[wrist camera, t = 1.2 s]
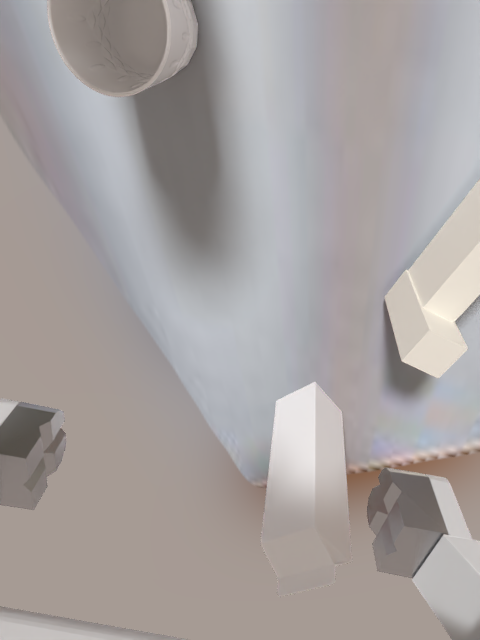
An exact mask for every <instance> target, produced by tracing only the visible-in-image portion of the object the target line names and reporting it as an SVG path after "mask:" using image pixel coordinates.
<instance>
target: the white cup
mask: <svg viewBox="0 0 480 640" xmlns="http://www.w3.org/2000/svg"><path fill="white" fill-rule="evenodd" d="M47 12H48V21H49V27H50V31H51V35H52V38H53V41H54V43H55V46H56V48H57V50H58V52H59V54H60V56H61V58H62V60H63V61H64V63H65V64H66V66H67V67H68V68H69V70H70V71H71V72H72V73H73V74H74V75H75V76H76V77H77V78H78V79H79V80H80V81H81V82H82V83H84V84H85V85H86V86H88V87H89V88H91V89H93V90H95V91H97V92H99V93H101V94H104V95H108V96H113V97H126V96H131V95H134V94H137V93H139V92H142V91H144V90H146V89H148V88H151V87H153V86H155V85H157V84H160V83H162V82H164V81H165V80H167V79H169V78H171V77H172V76H174V75H175V74H176V73H177V72H179V71H180V70H182V69H183V68H184V67H186V66H187V65H188V63H189V62H190V60H191V58H192V56H193V54H194V52H195V50H196V48H197V37H198V22H197V18H196V15H195V12H194V8H193V5H192V2H191V1H190V0H47Z"/></svg>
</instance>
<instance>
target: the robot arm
mask: <svg viewBox="0 0 480 640" xmlns="http://www.w3.org/2000/svg"><path fill="white" fill-rule="evenodd" d="M64 421H65V420H64V412H63V411H61V410H58V409H53V408H49V407H44V406H39V405H34V404H29V403H24V402H18V401H13V400H8V399H3V398H2V399H0V505H4V506H10V507H18V508H24V509H31V510H34V509H35V507H36V506H37V504H38V502H39V500H40V499H41V497H42V495H43V493H44V492H45V490H46V488H47V476H49V475H50V474H52V473H53V472H55V471H56V470H57V468H58V466H59V464H60V463H61V461H62V457H63V454H64V451H65V447H66V433H65V432H64V431H63V430H62V429H61V426H62V425H63V423H64ZM378 478H379V482H380V485H379V486H377V487H375V488H373V489H372V491H371V494H370V496H369V500H368V506H367V516H368V523H369V527H370V528H371V530H372V531H373V532H374V533H375V534H376V538H375V540H374V542H373V544H372V545H373V550H374V555H375V561H376V566H377V571H380V572H384V573H389V574H394V575H399V576H404V577H409V578H413V579H412V581H413V582H414V584H415V585H416V587H417V588H418V590H419V591H420V593H421V594H422V596H423V597H424V599H425V600H426V602H427V603H428V605H429V606H430V608H431V609H432V611H433V612H434V614H435V615H436V617H437V618H438V620H439V621H440V622H441V624H442V626H443V627H444V629H445V630H446V632H447V633H448V634H449V636H450V637H451V639H452V640H480V542H479V541H478V540H473V539H472V537H471V535H470V532H469V530H468V527H467V525H466V522H465V520H464V517H463V515H462V512H461V510H460V507H459V505H458V502H457V500H456V497H455V495H454V492H453V490H452V487H451V485H450V482H449V481H448V480H447V479H446V478H443V477H437V476H432V475H426V474H425V475H424V474H421V473H415V472H409V471H403V470H397V469H391V468H384V469H383V470H382V471H381V473H380V475H379V477H378ZM0 640H188V639H182V638H177V637H171V636H166V635H160V634H154V633H148V632H143V631H137V630H132V629H126V628H120V627H115V626H108V625H103V624H98V623H92V622H86V621H81V620H75V619H69V618H63V617H58V616H52V615H47V614H41V613H35V612H30V611H24V610H18V609H13V608H7V607H1V606H0Z"/></svg>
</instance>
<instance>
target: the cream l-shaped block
mask: <svg viewBox="0 0 480 640" xmlns="http://www.w3.org/2000/svg"><path fill="white" fill-rule="evenodd" d="M479 295H480V179H479V180H478V182H477V183H476V184H475V185H474V187H473V188H472V189H471V191H470V192H469V193H468V194H467V196H466V197H465V198H464V200H463V201H462V202H461V203H460V205H459V206H458V207H457V209H456V210H455V211H454V212H453V214H452V215H451V216H450V217H449V219H448V220H447V221H446V223H445V224H444V225H443V226H442V228H441V229H440V230H439V232H438V233H437V234H436V235H435V237H434V238H433V239H432V241H431V242H430V243H429V244H428V246H427V247H426V248H425V249H424V251H423V252H422V253H421V255H420V256H419V257H418V258H417V260H416V261H415V262H414V264H413V265H412V266H411V267H410V269H409V270H405V271H404V272H403V274H402V275H401V276H400V278H399V279H398V280H397V281H396V283H395V284H394V285H393V287H392V288H391V289H390V290H389V292H388V293H387V294H386V296H385V301H386V305H387V309H388V312H389V316H390V320H391V324H392V327H393V331H394V335H395V339H396V342H397V346H398V350H399V354H400V358H401V361H402V362H404V363H406V364H409V365H411V366H413V367H415V368H417V369H419V370H421V371H423V372H425V373H427V374H430V375H432V376H434V377H436V378H439V377H440V376H441V375H442V374H443V373H444V372H445V371H446V370H447V369H448V368H449V367H450V366H451V365H452V364H453V363H454V362H455V361H456V360H457V359H458V358H459V357H460V356H462V355H463V354H464V353H465V352H466V351H467V350H468V348H467V345H466V343H465V341H464V339H463V337H462V335H461V333H460V331H459V329H458V327H457V325H456V323H455V321H456V320H457V319H458V317H459V316H460V315H461V314H462V313H463V312H464V311H465V310H466V309H467V308H468V307H469V306H470V305H471V304H472V302H473V301H474V300H475V299H476V298H477V297H478V296H479Z"/></svg>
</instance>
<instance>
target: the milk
mask: <svg viewBox="0 0 480 640" xmlns="http://www.w3.org/2000/svg"><path fill="white" fill-rule="evenodd" d="M261 546H262V549H263V551H264V553H265V554H266V556H267V558H268V560H269V562H270V564H271V566H272V568H273V570H274V572H275V574H276V576H277V578H278V585H277V595H278V596H279V597H282V596H286V595H291V594H295V593H299V592H303V591H307V590H312V589H316V588H320V587H325V586H329V585H333V584H334V582H335V579H336V574H335V567H336V566H340V565H344V564H348V563H351V562H352V550H351V536H350V522H349V506H348V493H347V477H346V463H345V448H344V433H343V419H342V411H341V410H340V409H339V408H338V407H337V406H336V404H335V403H334V402H333V401H332V400H331V399H330V398H329V397H328V395H327V394H326V393H325V392H324V391H323V390H322V389H321V387H320V386H319V385H318V384H317V383H316V382H313V383H311V384H309V385H307V386H305V387H303V388H301V389H299V390H297V391H295V392H293V393H291V394H289V395H287V396H285V397H283V398H281V399H279V400H277V401H276V409H275V418H274V427H273V435H272V444H271V453H270V462H269V471H268V480H267V489H266V498H265V508H264V516H263V525H262V533H261Z"/></svg>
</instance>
